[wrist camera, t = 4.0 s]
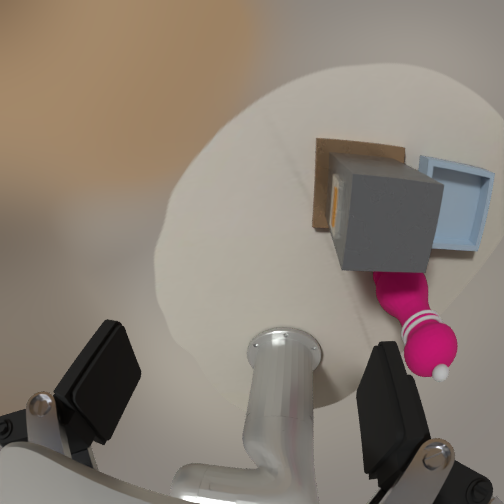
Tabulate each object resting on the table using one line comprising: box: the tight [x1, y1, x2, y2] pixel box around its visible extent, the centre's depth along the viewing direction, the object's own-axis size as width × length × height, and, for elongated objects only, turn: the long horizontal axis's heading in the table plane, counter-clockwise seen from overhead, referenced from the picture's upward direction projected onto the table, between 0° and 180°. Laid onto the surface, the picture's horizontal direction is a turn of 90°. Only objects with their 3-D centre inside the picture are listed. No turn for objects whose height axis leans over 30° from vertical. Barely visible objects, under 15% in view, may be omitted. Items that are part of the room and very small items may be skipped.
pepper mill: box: [373, 271, 457, 382], centre depth 29 cm, size 7×7×20 cm
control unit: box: [312, 138, 444, 273], centre depth 27 cm, size 11×11×14 cm
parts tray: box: [419, 155, 495, 251], centre depth 31 cm, size 12×12×3 cm
